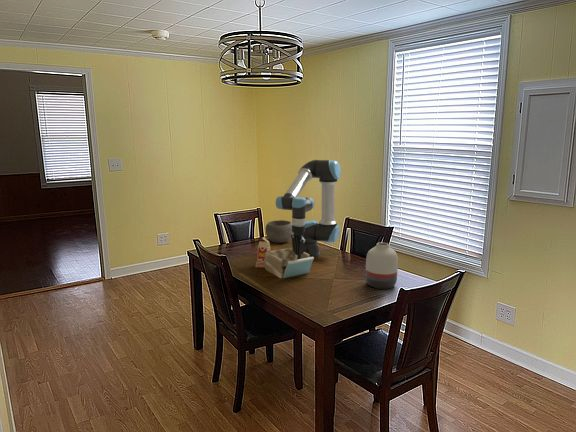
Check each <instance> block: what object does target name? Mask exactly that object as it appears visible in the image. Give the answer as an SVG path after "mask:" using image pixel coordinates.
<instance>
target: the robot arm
mask: <svg viewBox="0 0 576 432" xmlns="http://www.w3.org/2000/svg"><path fill="white" fill-rule="evenodd" d="M341 171H342V170H341V165H340V164H339V162H338V161H337V160H332V159H313V160H310V161H308V162H307V163H305V164H304V165H302V166H301V167H300V168H299V170H298V172H297V176H296V177H295V179H294V180H293V181H292V183H291V184H290V185H289V187H288V189H287V190H286V191H285V193H284V195H283V196H282V195H280V196H277V197H276V199H275V206H276V209H279V210H285V211H287V210H288V211H291V224H292V232H293V235H291V238H290V239H291V243H292V244H291V245H292V247H293V252H295V260H298V259H301V254H303V252H305V253H307V254H310V257H314V258H317V257H319V256H320V253H321V251H320V248H319V245H318V242H324V243H325V242H326V243H336V242H337V241H338V239H339V237H340V236H339V235H340V232H341V227H340V225H338V221H337V220H335V217H336V216H335V215H336V214H335V213H336V212H335V211H336V209H335V202H336V198H335V195H336V194H335V193H336V183H337V182H338V180H340V178H341V174H342V173H341ZM312 179H318V181H319V183H320V184H321V219H320V221H319V222H318V220H314V219H313V220H306V213H307V212H309V211H311V210H312V209H314V207H315V205H316V204H315V200H314V199H313V198H312V197H311V196H309V197H302V196H300V195H301V193H302V191H303V189H304V188H305V187H306V185H307V183H308V182H310V181H311V180H312ZM292 247H291V248H292Z"/></svg>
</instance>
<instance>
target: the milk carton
mask: <svg viewBox="0 0 576 432" xmlns="http://www.w3.org/2000/svg"><path fill="white" fill-rule="evenodd" d="M269 251H272V250H271V243H270V241H269V239H267V238H266V237H265V236H264V237H263V236H262V239H261V240H259V241H258V247H257V252H256V253H257V255H256V263H255V269H256V268H257V269H258V268H259V269H260V268H261V269H262V268H263V269H265V252H269Z"/></svg>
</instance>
